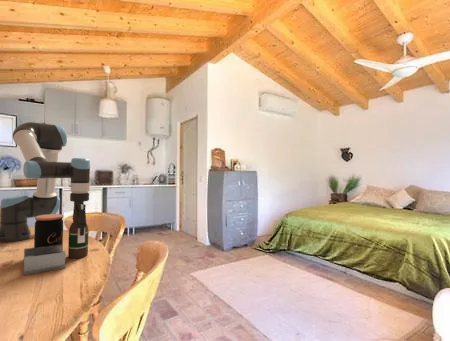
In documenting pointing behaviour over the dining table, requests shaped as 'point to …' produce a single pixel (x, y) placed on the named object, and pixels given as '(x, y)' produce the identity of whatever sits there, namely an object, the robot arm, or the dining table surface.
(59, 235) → the coffee jar
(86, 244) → the beer bottle
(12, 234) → the robot arm
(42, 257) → the bracket
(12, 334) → the dining table surface
